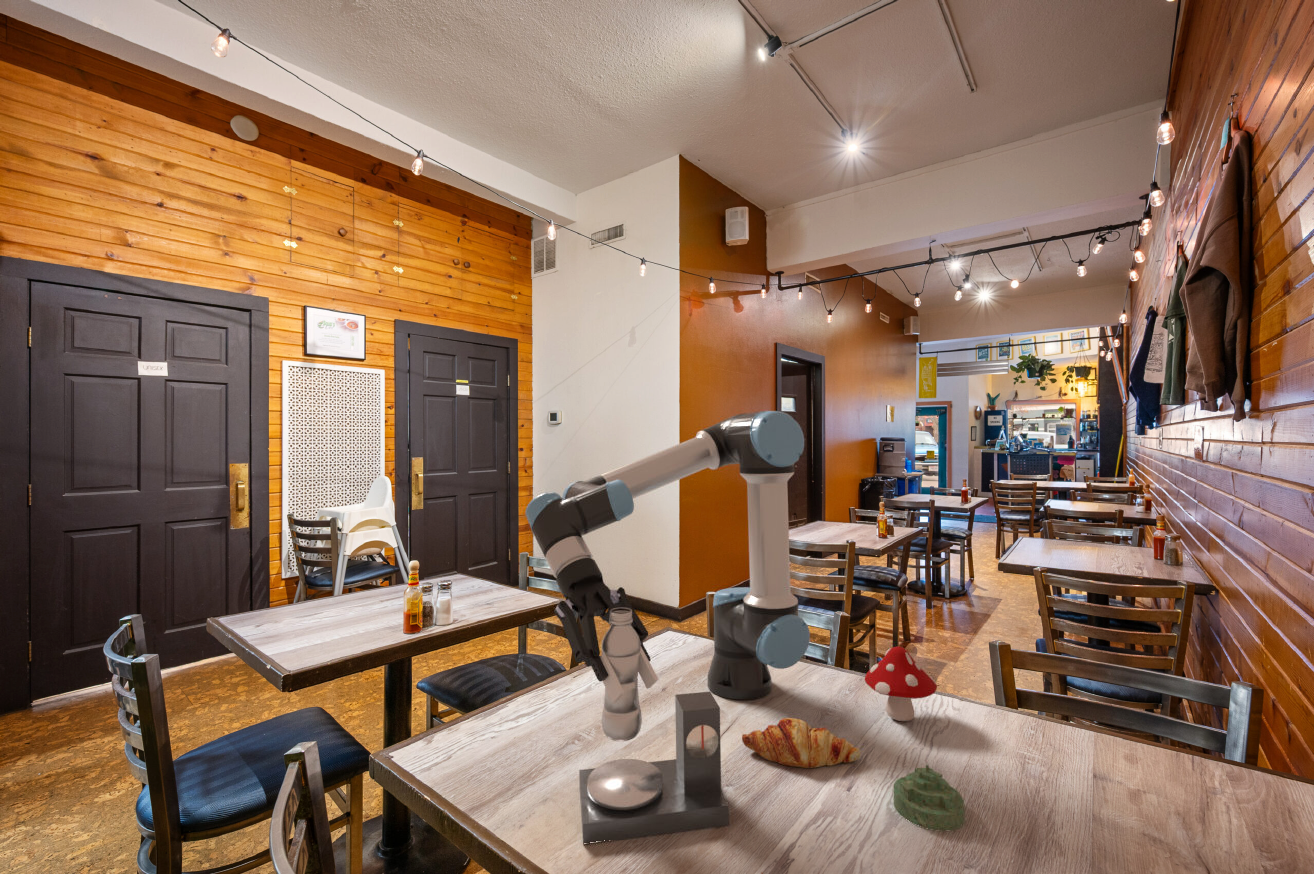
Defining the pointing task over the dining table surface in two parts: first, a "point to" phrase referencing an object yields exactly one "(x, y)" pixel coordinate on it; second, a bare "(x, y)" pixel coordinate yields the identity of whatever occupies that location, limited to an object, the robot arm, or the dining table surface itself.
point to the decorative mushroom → (900, 682)
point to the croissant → (800, 745)
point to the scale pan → (624, 784)
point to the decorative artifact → (928, 800)
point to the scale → (671, 782)
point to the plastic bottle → (622, 677)
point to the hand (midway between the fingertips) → (636, 690)
